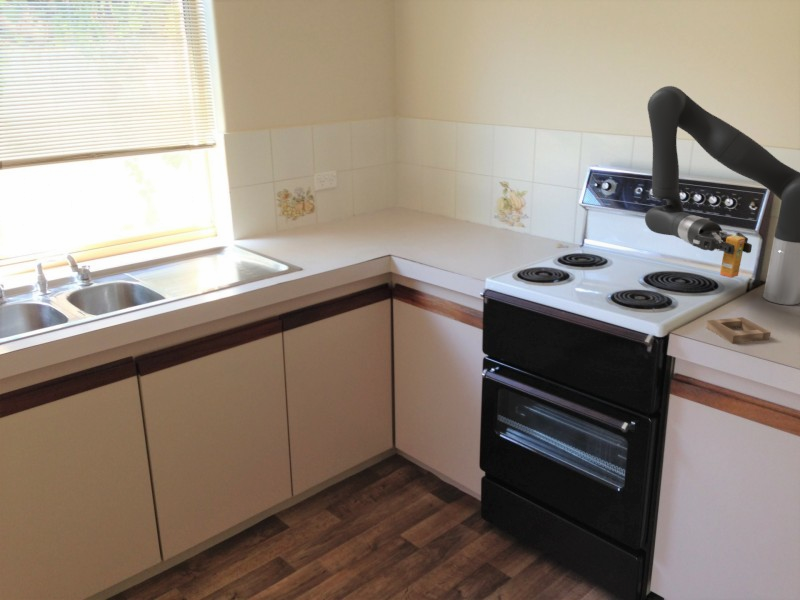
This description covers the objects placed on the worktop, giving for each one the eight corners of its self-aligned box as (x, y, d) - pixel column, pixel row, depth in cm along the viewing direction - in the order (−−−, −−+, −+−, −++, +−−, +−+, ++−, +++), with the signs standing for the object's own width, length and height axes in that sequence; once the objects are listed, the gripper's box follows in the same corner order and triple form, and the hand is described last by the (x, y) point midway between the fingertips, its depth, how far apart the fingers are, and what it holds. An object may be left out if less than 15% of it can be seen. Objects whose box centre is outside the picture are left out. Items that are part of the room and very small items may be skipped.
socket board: (741, 324, 182) (742, 317, 181) (769, 340, 173) (770, 332, 172) (706, 327, 180) (707, 320, 179) (732, 343, 171) (733, 335, 170)
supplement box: (732, 278, 180) (738, 239, 176) (719, 275, 183) (725, 236, 179) (739, 275, 182) (745, 237, 178) (726, 272, 184) (732, 234, 181)
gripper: (676, 219, 190) (718, 236, 174) (725, 216, 193) (769, 232, 177) (673, 247, 192) (713, 266, 177) (721, 244, 195) (764, 262, 180)
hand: (741, 249), depth 177 cm, fingers closed on supplement box, 4 cm apart
